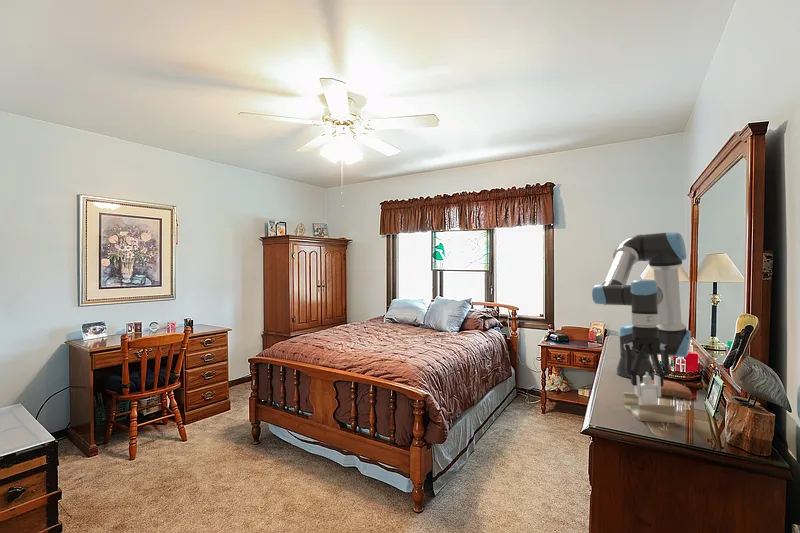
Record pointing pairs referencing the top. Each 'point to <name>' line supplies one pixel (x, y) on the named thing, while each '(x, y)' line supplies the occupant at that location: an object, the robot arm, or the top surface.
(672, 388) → the ceramic shard
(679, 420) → the top surface
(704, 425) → the top surface
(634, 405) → the rack
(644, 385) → the eye dropper bottle
